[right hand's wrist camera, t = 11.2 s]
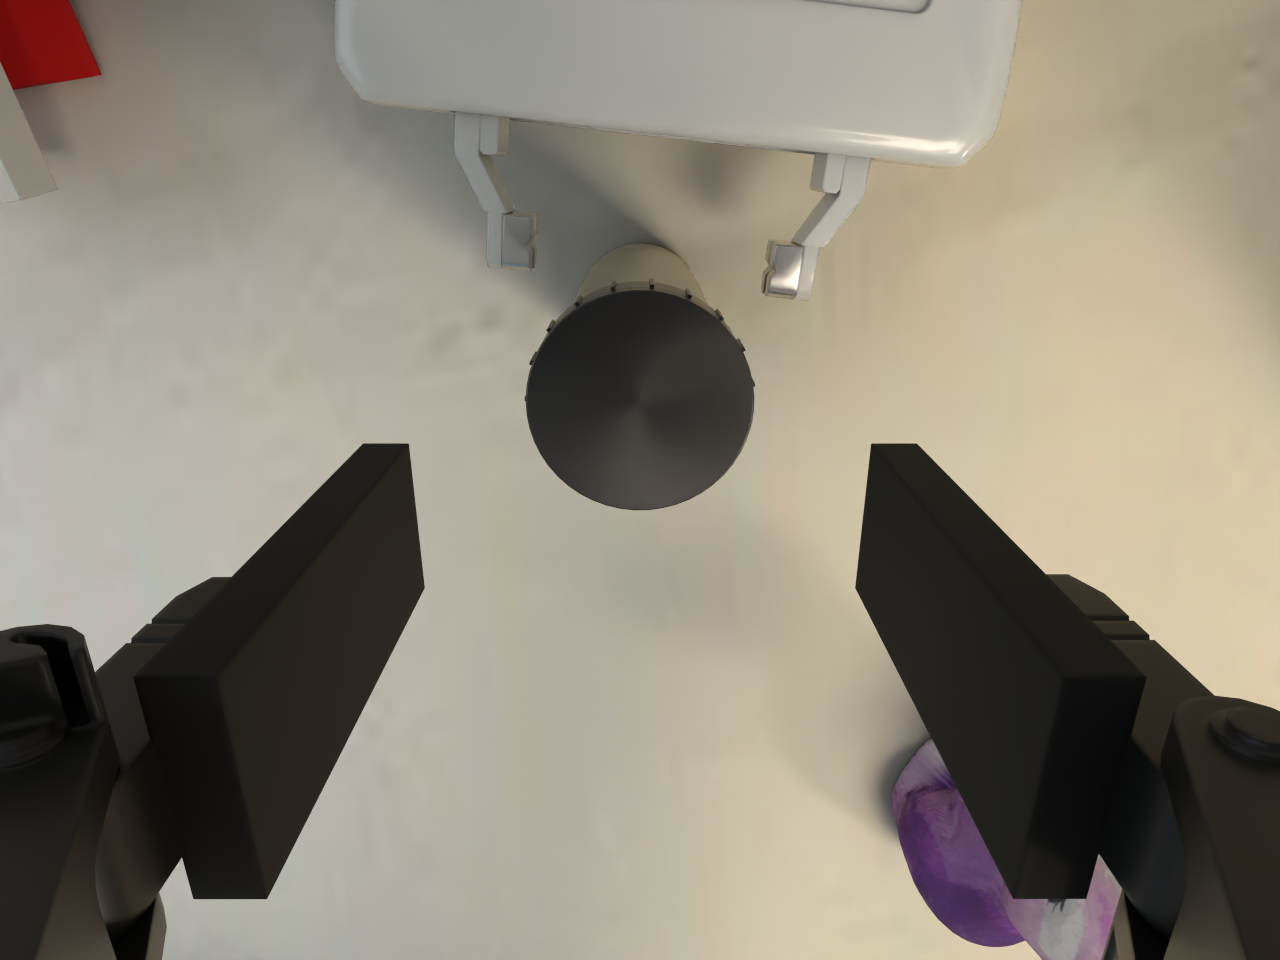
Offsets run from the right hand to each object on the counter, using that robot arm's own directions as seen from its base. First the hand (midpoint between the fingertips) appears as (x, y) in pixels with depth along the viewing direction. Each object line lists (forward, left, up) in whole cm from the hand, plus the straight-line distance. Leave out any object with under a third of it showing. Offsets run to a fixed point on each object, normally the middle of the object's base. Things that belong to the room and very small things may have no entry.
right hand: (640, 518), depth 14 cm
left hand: (+1, -2, -16) cm, 16 cm away
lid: (0, 0, -7) cm, 7 cm away
